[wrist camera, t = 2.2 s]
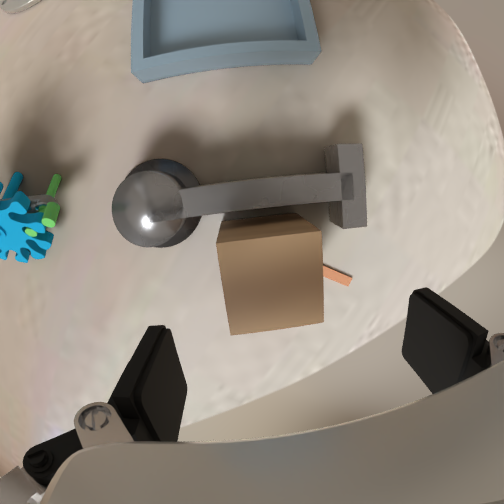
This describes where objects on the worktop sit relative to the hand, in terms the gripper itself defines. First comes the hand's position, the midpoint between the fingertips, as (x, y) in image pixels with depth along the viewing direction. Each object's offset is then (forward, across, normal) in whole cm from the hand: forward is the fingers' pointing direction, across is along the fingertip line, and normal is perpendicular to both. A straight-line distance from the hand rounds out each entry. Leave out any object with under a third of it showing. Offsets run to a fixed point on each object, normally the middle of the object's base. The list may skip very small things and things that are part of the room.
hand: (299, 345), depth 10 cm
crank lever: (+10, +2, -5) cm, 11 cm away
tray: (+10, +2, -20) cm, 22 cm away
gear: (+10, +19, -6) cm, 22 cm away
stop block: (+10, 0, -1) cm, 10 cm away
